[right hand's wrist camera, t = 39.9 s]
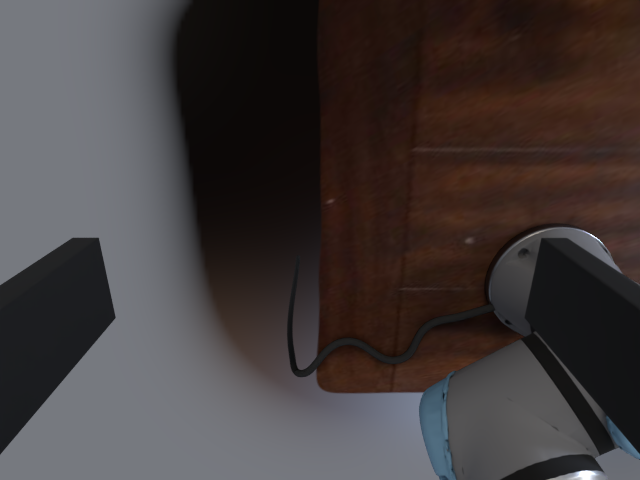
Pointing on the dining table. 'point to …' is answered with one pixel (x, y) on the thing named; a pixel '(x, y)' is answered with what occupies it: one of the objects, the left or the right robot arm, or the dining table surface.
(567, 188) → the dining table surface
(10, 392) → the right robot arm
